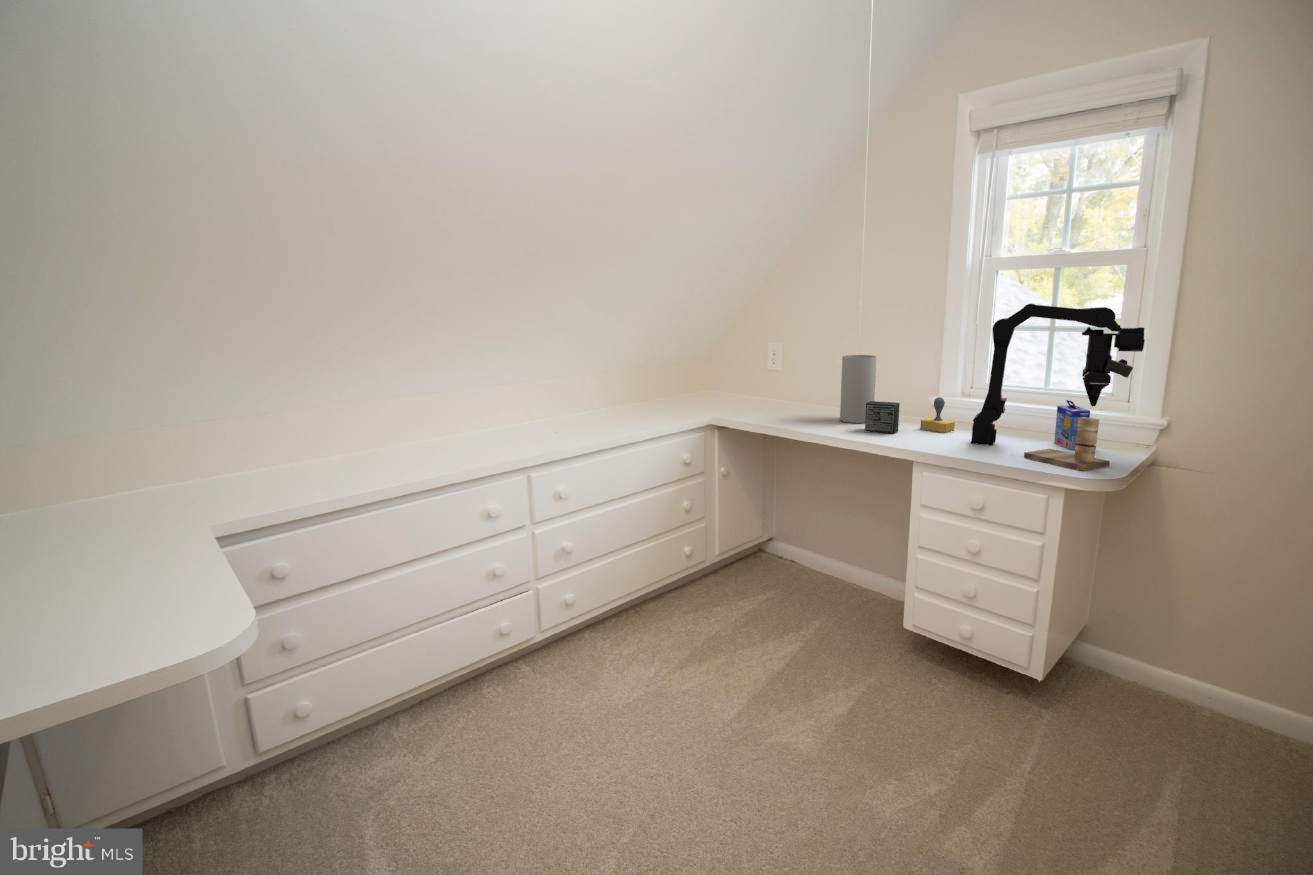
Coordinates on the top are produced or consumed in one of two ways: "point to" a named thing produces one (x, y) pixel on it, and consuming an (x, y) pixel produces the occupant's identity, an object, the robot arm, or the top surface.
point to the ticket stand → (1070, 457)
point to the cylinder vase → (857, 386)
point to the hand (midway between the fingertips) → (1092, 403)
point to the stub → (1087, 431)
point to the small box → (882, 417)
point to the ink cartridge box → (1068, 424)
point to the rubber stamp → (938, 420)
